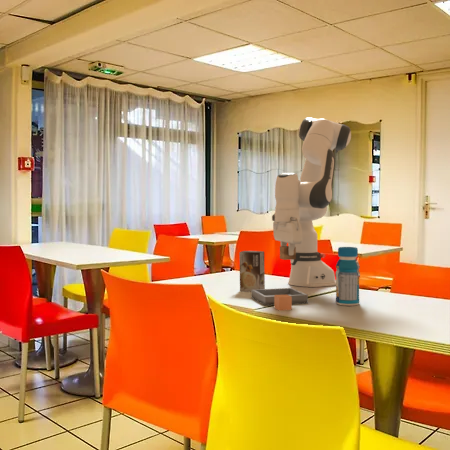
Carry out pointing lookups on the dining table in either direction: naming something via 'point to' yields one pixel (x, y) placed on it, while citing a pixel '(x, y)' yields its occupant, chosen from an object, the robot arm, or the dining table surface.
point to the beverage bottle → (347, 277)
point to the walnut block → (286, 253)
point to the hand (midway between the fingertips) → (287, 254)
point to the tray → (268, 294)
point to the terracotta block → (282, 302)
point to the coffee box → (252, 270)
